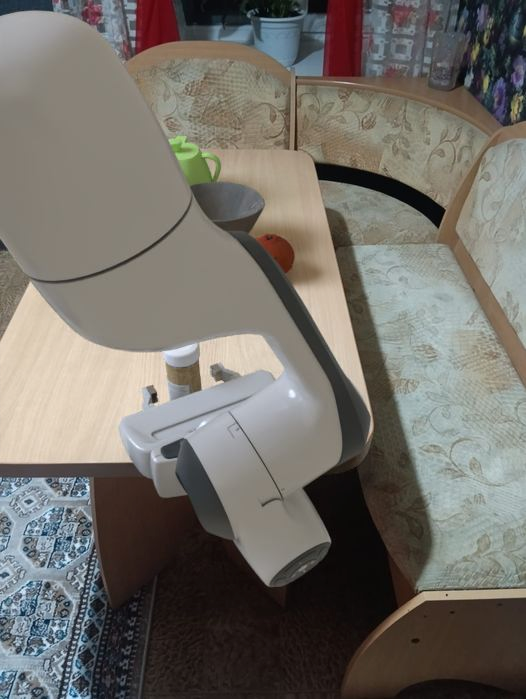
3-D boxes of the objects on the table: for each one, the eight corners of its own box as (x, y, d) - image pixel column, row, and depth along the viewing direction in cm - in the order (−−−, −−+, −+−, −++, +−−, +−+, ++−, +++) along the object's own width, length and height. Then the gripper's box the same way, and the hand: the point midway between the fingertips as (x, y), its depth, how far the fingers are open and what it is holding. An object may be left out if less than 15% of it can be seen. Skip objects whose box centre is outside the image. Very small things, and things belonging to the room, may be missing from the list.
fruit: (247, 285, 101) (247, 247, 96) (248, 261, 108) (248, 224, 103) (294, 287, 101) (297, 248, 96) (292, 262, 108) (295, 225, 103)
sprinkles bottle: (211, 420, 75) (206, 344, 66) (185, 437, 72) (176, 360, 64) (190, 402, 77) (184, 327, 69) (164, 418, 75) (154, 342, 66)
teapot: (233, 204, 129) (232, 142, 119) (162, 229, 118) (155, 163, 109) (186, 179, 139) (182, 121, 130) (118, 200, 129) (108, 138, 120)
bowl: (264, 268, 106) (265, 221, 100) (168, 267, 106) (163, 220, 99) (263, 224, 121) (264, 181, 114) (178, 223, 120) (174, 179, 114)
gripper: (308, 402, 63) (252, 337, 73) (139, 467, 56) (101, 385, 65) (304, 438, 67) (252, 372, 77) (146, 503, 60) (109, 421, 69)
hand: (182, 378), depth 71 cm, fingers open, 8 cm apart
